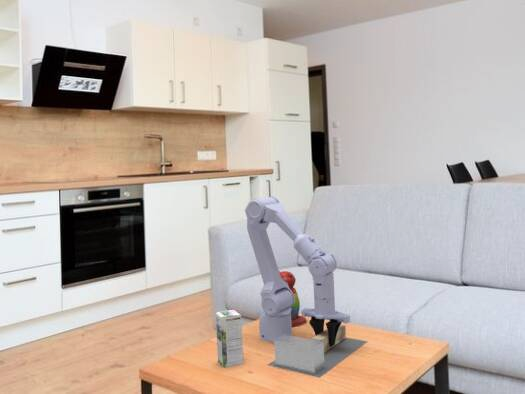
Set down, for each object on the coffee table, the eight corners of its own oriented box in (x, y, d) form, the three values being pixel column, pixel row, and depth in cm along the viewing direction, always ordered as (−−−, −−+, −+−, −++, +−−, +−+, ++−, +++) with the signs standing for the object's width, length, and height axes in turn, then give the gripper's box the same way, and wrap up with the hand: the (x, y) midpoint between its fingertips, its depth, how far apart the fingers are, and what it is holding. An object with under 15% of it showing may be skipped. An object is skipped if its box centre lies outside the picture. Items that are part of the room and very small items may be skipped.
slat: (315, 358, 135) (314, 344, 135) (305, 356, 137) (305, 342, 137) (345, 337, 150) (345, 324, 149) (336, 336, 151) (336, 323, 151)
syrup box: (217, 364, 139) (214, 312, 138) (237, 359, 141) (234, 308, 140) (224, 371, 133) (220, 317, 132) (245, 366, 136) (241, 313, 135)
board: (267, 368, 134) (267, 364, 134) (319, 336, 156) (319, 332, 156) (319, 381, 124) (319, 377, 124) (367, 344, 147) (367, 341, 146)
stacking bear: (309, 322, 170) (306, 270, 169) (290, 330, 163) (287, 276, 162) (285, 316, 178) (282, 266, 177) (265, 324, 170) (262, 272, 169)
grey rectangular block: (275, 365, 133) (274, 340, 133) (285, 358, 137) (284, 334, 137) (314, 374, 126) (313, 348, 126) (324, 367, 130) (323, 341, 130)
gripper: (295, 297, 143) (297, 344, 144) (340, 303, 135) (343, 353, 136) (307, 291, 149) (310, 336, 150) (352, 297, 140) (354, 344, 141)
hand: (326, 344), depth 143 cm, fingers closed on slat, 3 cm apart
